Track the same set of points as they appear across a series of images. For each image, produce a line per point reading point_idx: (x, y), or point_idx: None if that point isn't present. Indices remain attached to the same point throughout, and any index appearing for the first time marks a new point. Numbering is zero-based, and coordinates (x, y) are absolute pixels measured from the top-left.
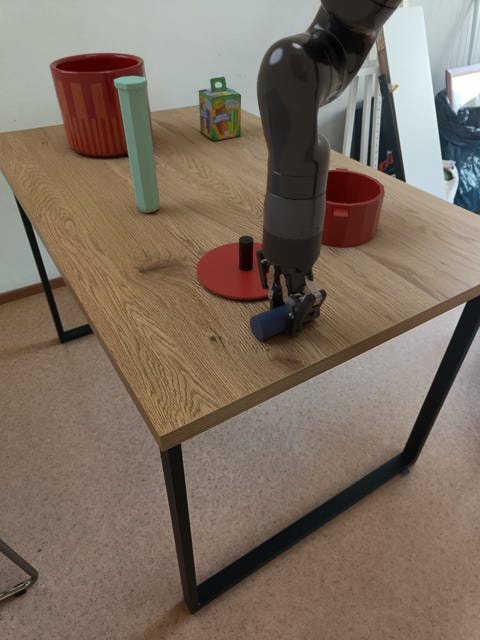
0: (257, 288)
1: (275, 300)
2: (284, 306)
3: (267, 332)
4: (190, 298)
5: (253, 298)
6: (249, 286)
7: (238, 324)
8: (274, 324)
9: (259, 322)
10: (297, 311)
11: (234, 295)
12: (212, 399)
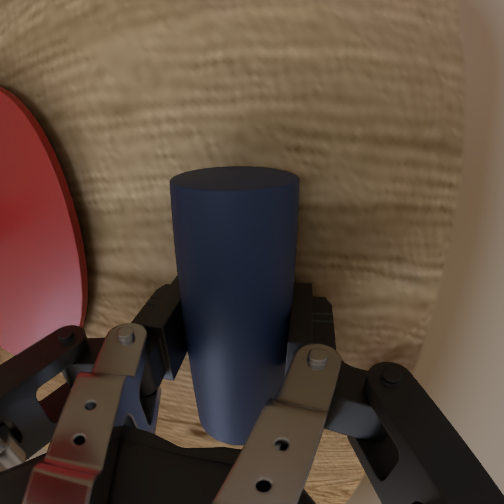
0: (48, 272)
1: (166, 369)
2: (213, 357)
3: None
4: (60, 385)
5: (85, 305)
6: (37, 285)
7: (171, 380)
8: None
9: None
10: (335, 427)
11: None
12: (343, 480)
